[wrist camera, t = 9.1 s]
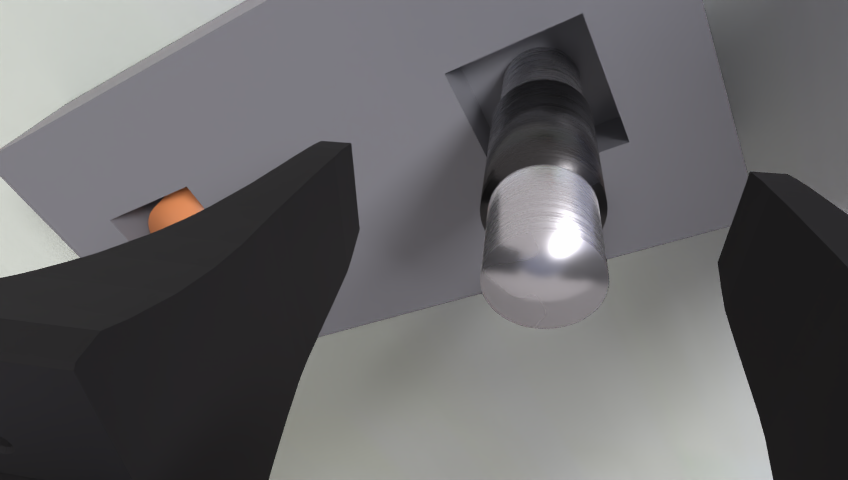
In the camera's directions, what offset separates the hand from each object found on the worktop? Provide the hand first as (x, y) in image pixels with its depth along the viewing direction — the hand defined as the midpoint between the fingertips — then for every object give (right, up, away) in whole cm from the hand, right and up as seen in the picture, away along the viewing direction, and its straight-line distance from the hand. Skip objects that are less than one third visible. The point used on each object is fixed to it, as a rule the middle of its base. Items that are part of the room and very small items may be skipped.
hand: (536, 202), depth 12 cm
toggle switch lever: (+1, +3, +4) cm, 6 cm away
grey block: (-4, +3, +9) cm, 10 cm away
